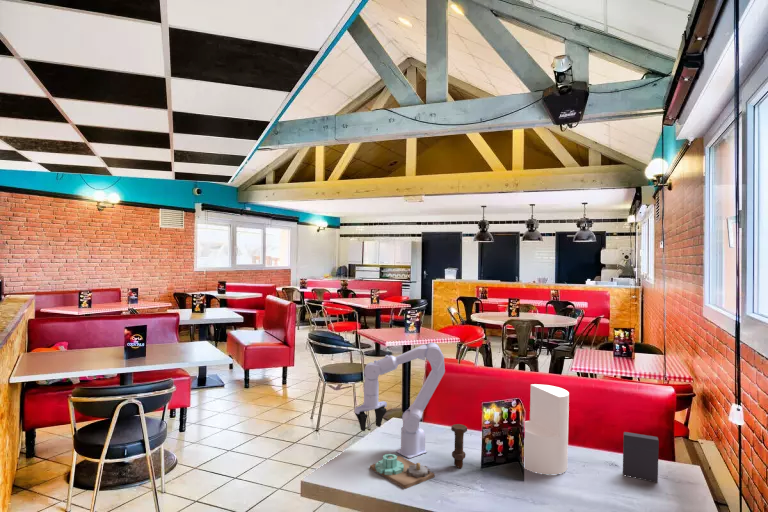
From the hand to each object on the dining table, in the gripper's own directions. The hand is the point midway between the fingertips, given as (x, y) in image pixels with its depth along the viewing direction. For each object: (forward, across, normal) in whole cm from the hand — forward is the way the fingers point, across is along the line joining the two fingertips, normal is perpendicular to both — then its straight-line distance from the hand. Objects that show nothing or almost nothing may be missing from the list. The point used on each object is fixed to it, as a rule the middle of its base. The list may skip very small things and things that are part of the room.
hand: (370, 428), depth 191 cm
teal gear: (+8, +5, +18) cm, 20 cm away
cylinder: (+10, -45, +48) cm, 66 cm away
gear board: (+9, +2, +21) cm, 23 cm away
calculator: (+10, -64, +75) cm, 99 cm away
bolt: (+10, -18, +30) cm, 36 cm away
